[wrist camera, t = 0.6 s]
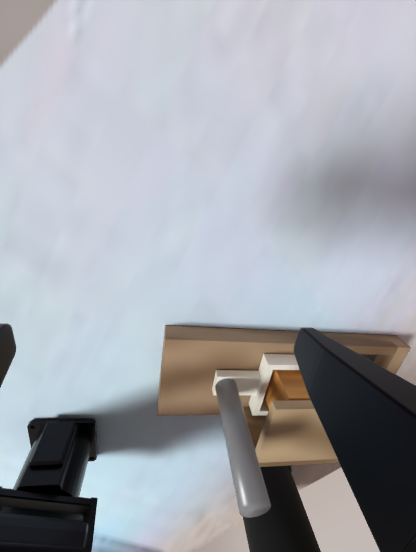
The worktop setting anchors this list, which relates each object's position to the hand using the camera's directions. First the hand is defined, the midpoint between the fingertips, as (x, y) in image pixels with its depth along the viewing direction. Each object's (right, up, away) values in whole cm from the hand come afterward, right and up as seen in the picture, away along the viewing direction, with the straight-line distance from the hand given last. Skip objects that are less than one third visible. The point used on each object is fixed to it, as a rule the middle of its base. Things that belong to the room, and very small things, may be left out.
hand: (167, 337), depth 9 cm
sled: (+7, -8, +18) cm, 21 cm away
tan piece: (+9, -8, +21) cm, 24 cm away
